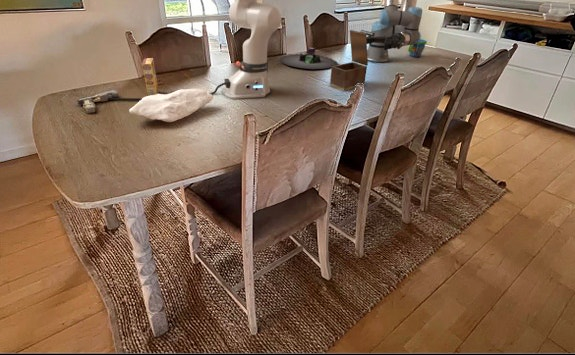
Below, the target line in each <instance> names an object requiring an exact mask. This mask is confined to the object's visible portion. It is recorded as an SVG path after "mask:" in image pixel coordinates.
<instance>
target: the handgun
mask: <svg viewBox="0 0 575 355" xmlns="http://www.w3.org/2000/svg"><path fill="white" fill-rule="evenodd" d="M119 96H120V94H119V92H118V91H117V90H116V89H112V90H108V91H105V92H104V91H103V92H101V93H96V94H94V95H86V94H85V95H84V94H83V95H81V96H80V97H77V98H76V101H77V104H78V105H82V108H83V109H84V110H85V113H87V114H91V113H95V112H96V104H95V103H98V102H106V101H109V100H108V98H119Z"/></svg>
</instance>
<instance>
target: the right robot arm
mask: <svg viewBox="0 0 575 355" xmlns="http://www.w3.org/2000/svg"><path fill="white" fill-rule="evenodd" d="M417 2H418V0H401V3H400V8H399V0H384V3H383V9H381V10H380V11H379V18H378V20H377V21H374V22H373V23H372V25H371V29H370V32H373V33H375V35H374V36H373V37H372V36H371V37H370V38H368V39H367V45H368V47H367V58H368V62H370V63H378V64H381V63H387V62H389V59H390V56H389V50H392V49H397V50H400V49H402V47H407V46H410V45H413V44H416V43H418V42H419V40H420V39H422V35H421V32H420V26H421V25H420V24H421V21H422V18H423V17H422V16H423V8H422V7H418V6H417V4H418V3H417Z"/></svg>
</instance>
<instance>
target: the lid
mask: <svg viewBox="0 0 575 355" xmlns="http://www.w3.org/2000/svg"><path fill="white" fill-rule="evenodd" d="M374 35H375V33H373V32H371V31H369V30H364V29H360V31H357V30H354V29H350V30H349V39H350V40H349V41H350V51H351V52H350V54H351V62H354V63H357V64H361V65H364V66H367V67H368V65H369V61H368V58H367V50H368V44H367V39H368V38H370V37H371V36H372V37H373V36H374Z"/></svg>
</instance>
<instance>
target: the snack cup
mask: <svg viewBox="0 0 575 355" xmlns="http://www.w3.org/2000/svg"><path fill="white" fill-rule="evenodd" d="M427 42H428V41H427V40H425V39H422V38H420V40H419V42H418V43H416V44H413V45H408V46H409V47H408V50H407V51H408V53H409V56H410V57H414V58H420V57H421V56H422V54H423V52H424V50H425V48H426V44H428V43H427Z"/></svg>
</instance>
